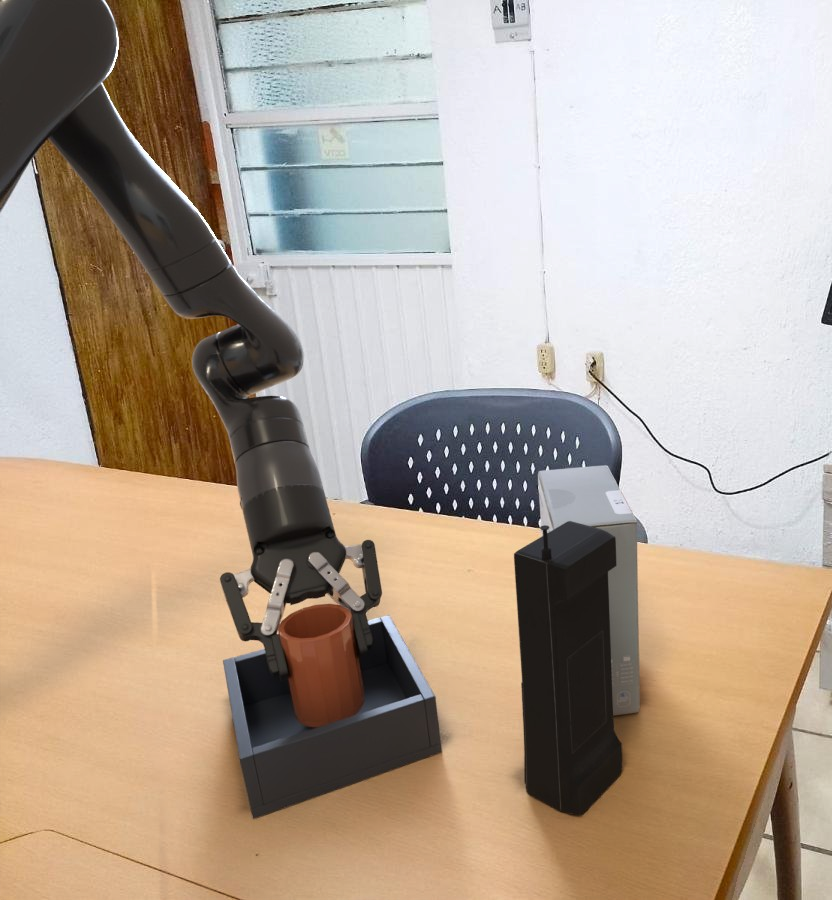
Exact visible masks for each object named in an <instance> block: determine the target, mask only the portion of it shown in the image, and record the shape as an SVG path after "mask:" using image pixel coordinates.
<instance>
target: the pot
mask: <svg viewBox="0 0 832 900" xmlns="http://www.w3.org/2000/svg"><path fill="white" fill-rule="evenodd" d="M277 633H278V634H279V636H280V640H281V645H282V647H283V652H284V656H285V660H286V665H287V669H288V674H289V679H288V683H289V688H290V693H291V698H292V703H293V708H294V712H295V717H296V719H297V720H298V721H299V722H300V723H301V724H303V725H305V726H309V727H320V726H323V725H326V724H329V723H333V722H336V721H339V720H342V719H345V718H348V717H351V716H354V715H355V714H357V713H358V712H359V710H360V709H361V708H362V706H363V704H364V700H365V698H364V688H363V682H362V676H361V669H360V663H359V657H358V651H357V645H356V639H355V633H354V627H353V620H352V615H351V613H350V611H349V609H347V608H345V607H343V606H342V605H339V604H337V603H322V604H321V603H320V604H314V605H309V606H305V607H302V608H300V609H298V610H296V611H293V612H291V613H290V614H288V615H287V616H286V617H285V618H283V619H281V622H280V625H279V627H278V632H277Z"/></svg>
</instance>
